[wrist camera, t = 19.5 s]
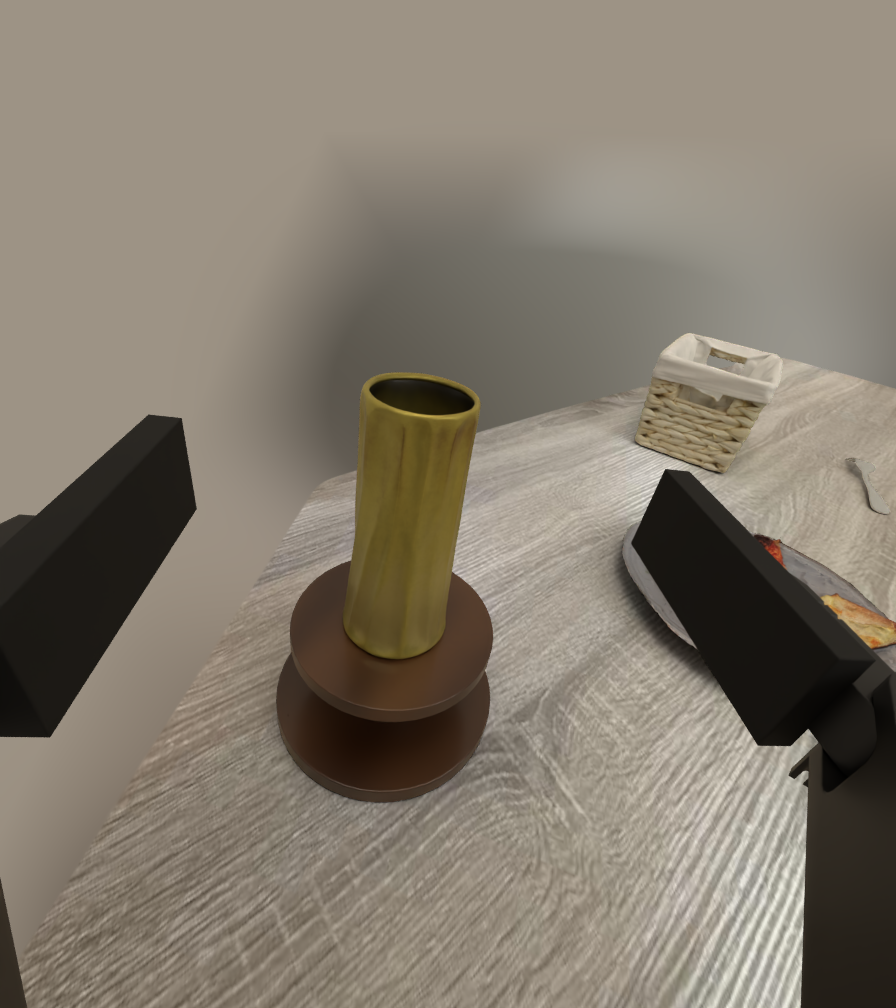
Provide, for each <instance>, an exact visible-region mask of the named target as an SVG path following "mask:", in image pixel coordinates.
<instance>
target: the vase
mask: <svg viewBox="0 0 896 1008" xmlns="http://www.w3.org/2000/svg"><path fill="white" fill-rule="evenodd" d="M479 412H480V400H479V398H478V396H477V395H476V394H475V393H474V392H473V391H472V390H471V389H469V388H467V387H465V386H464V385H461V384H459V383H457V382H454V381H451V380H448V379H445V378H441V377H437V376H432V375H427V374H420V373H399V372H398V373H386V374H381V375H377V376H375V377H372V378H371V379H369V380H368V381H367V382H366V383H365V384H364V386H363V388H362V392H361V398H360V420H359V441H358V442H359V443H358V466H357V483H356V503H355V540H354V547H353V553H352V560H351V566H350V573H349V579H348V587H347V594H346V600H345V607H344V610H343V624H344V628H345V631H346V633H347V635H348V636H349V638H350V639H351V640H352V641H353V642H354V643H355V644H356V645H357V646H359V647H360V648H362V649H363V650H365V651H366V652H368V653H370V654H372V655H375V656H378V657H382V658H387V659H406V658H410V657H414V656H417V655H420V654H422V653H424V652H426V651H428V650H429V649H431V648H432V647H433V646H434V645H435V644H436V643H437V642H438V641H439V640H440V638H441V637H442V635H443V633H444V630H445V625H446V618H445V617H446V607H447V600H448V593H449V587H450V581H451V574H452V567H453V561H454V555H455V547H456V542H457V537H458V531H459V526H460V520H461V513H462V507H463V501H464V494H465V488H466V482H467V476H468V471H469V465H470V460H471V454H472V449H473V444H474V439H475V434H476V429H477V424H478V418H479Z"/></svg>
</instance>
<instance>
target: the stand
mask: <svg viewBox="0 0 896 1008" xmlns="http://www.w3.org/2000/svg"><path fill="white" fill-rule="evenodd" d="M350 566H351V561H348V562H345V563H343V564H340V565H338V566H336V567H334V568H332V569H330V570H328V571H327V572H325V573H324V574H322V575H321V576H319V577H318V578H317V579H316V580H314V581H313V582H312V583H311V584H310V585H309V586H308V587H307V589H306V590H305V591H304V592H303V593H302V595H301V597H300V598H299V600H298V602H297V603H296V606H295V608H294V611H293V614H292V618H291V623H290V643H291V653H290V655H289V657H288V659H287V661H286V662H285V664H284V667H283V669H282V672H281V675H280V678H279V683H278V687H277V699H276V701H277V713H278V724H279V728H280V732H281V736H282V739H283V741H284V743H285V746H286V748H287V750H288V752H289V753H290V755H291V756H292V758H293V759H294V761H295V762H296V763H297V765H298V766H299V767H300V768H301V769H302V770H303V771H304V773H306V774H307V775H308V776H309V777H310V778H312V779H313V780H314V781H315V782H317V783H318V784H320V785H322V786H323V787H325V788H327V789H328V790H330V791H332V792H335V793H337V794H340V795H342V796H344V797H348V798H352V799H356V800H360V801H369V802H394V801H400V800H406V799H410V798H413V797H416V796H420V795H423V794H425V793H427V792H429V791H431V790H433V789H435V788H438V787H439V786H441V785H442V784H444V783H445V782H447V781H448V780H450V779H451V778H452V777H453V776H454V775H455V774H457V773H458V772H459V771H460V770H461V769H462V768H463V767H464V765H465V764H466V763H467V762H468V761H469V759H470V758H471V756H472V755H473V753H474V752H475V750H476V748H477V747H478V744H479V742H480V739H481V737H482V735H483V732H484V729H485V726H486V722H487V718H488V714H489V706H490V689H489V684H488V679H487V675H486V672H485V669H486V667H487V663H488V660H489V657H490V653H491V650H492V643H493V628H492V623H491V619H490V616H489V613H488V611H487V608H486V606H485V605H484V603H483V601H482V600H481V598H480V597H479V596H478V594H477V593H476V592H475V591H474V590H473V588H472V587H471V586H470V585H469V584H467V583H466V582H465V581H464V580H463V579H461V578H460V577H459V576H457V575H456V574H454V573H453V572H452V574H451V581H450V587H449V593H448V600H447V607H446V617H445V618H446V625H445V630H444V633H443V635H442V637H441V638H440V640H439V641H438V642H437V643H436V644H435V645H434V646H433V647H432V648H431V649H429V650H428V651H426V652H424V653H422V654H420V655H417V656H414V657H410V658H406V659H387V658H382V657H378V656H375V655H372V654H370V653H368V652H366V651H365V650H363V649H362V648H360V647H359V646H357V645H356V644H355V643H354V642H353V641H352V640H351V639H350V638H349V636H348V635H347V633H346V631H345V628H344V624H343V610H344V607H345V600H346V594H347V587H348V579H349V573H350Z"/></svg>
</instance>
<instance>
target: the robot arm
mask: <svg viewBox="0 0 896 1008" xmlns="http://www.w3.org/2000/svg"><path fill="white" fill-rule="evenodd" d="M196 509H197V508H196V503H195V496H194V490H193V485H192V478H191V472H190V466H189V460H188V455H187V448H186V442H185V436H184V430H183V423H182V418H175V417H166V416H156V415H148V416H146V418H144V419H143V420H142V421H141V422H140V423H139V424H138V425H136V426H135V427H134V428H133V429H132V430H131V431H130V432H129V433H127V434H126V435H125V436H124V437H123V438H122V439H121V440H120V441H119V442H118V443H116V444H115V445H114V446H113V447H112V448H111V449H110V450H109V451H107V452H106V453H105V454H104V455H103V456H102V457H101V458H100V459H99V460H97V461H96V462H95V463H94V464H93V465H92V466H91V467H90V468H89V469H87V470H86V471H85V472H84V473H83V474H82V475H81V476H80V477H78V478H77V479H76V480H75V481H74V482H73V483H72V484H71V485H70V486H68V487H67V488H66V489H65V490H64V491H63V492H62V493H61V494H60V495H58V496H57V498H55V499H54V500H53V501H52V502H51V503H50V504H48V505H47V506H46V507H45V508H44V509H43V510H42V511H41V512H40V513H38V514H37V515H36V516H32V515H18V516H16V517H13V518H11V519H9V520H7V521H5V522H3V523H1V524H0V737H51V735H52V734H53V732H54V730H55V729H56V727H57V726H58V724H59V723H60V721H61V720H62V718H63V716H64V715H65V713H66V712H67V710H68V708H69V707H70V706H71V704H72V702H73V701H74V699H75V697H76V696H77V694H78V693H79V691H80V690H81V688H82V687H83V685H84V684H85V682H86V681H87V679H88V677H89V676H90V674H91V673H92V671H93V670H94V668H95V666H96V665H97V663H98V662H99V660H100V659H101V657H102V656H103V654H104V652H105V651H106V649H107V648H108V646H109V645H110V643H111V642H112V640H113V638H114V637H115V635H116V634H117V632H118V631H119V629H120V627H121V626H122V624H123V623H124V621H125V620H126V618H127V616H128V615H129V614H130V612H131V610H132V609H133V607H134V606H135V604H136V603H137V601H138V599H139V598H140V596H141V595H142V593H143V592H144V590H145V589H146V587H147V586H148V584H149V582H150V581H151V579H152V578H153V576H154V575H155V573H156V571H157V570H158V568H159V567H160V565H161V564H162V562H163V561H164V559H165V557H166V556H167V554H168V553H169V551H170V550H171V547H172V546H173V545H174V543H175V542H176V540H177V539H178V537H179V536H180V534H181V533H182V531H183V529H184V528H185V526H186V525H187V523H188V522H189V520H190V519H191V517H192V515H193V514H194V512H195V511H196ZM631 544H632V546H633V548H634V549H635V551H636V552H637V554H638V556H639V557H640V559H641V560H642V562H643V564H644V565H645V567H646V568H647V570H648V571H649V573H650V575H651V576H652V578H653V579H654V581H655V583H656V584H657V586H658V587H659V589H660V591H661V592H662V594H663V595H664V597H665V599H666V600H667V602H668V603H669V605H670V606H671V608H672V610H673V611H674V613H675V614H676V616H677V618H678V619H679V621H680V622H681V624H682V626H683V627H684V629H685V630H686V632H687V633H688V635H689V637H690V638H691V640H692V641H693V643H694V645H695V646H696V648H697V649H698V651H699V653H700V654H701V656H702V657H703V659H704V661H705V662H706V664H707V665H708V667H709V668H710V670H711V672H712V673H713V675H714V676H715V678H716V680H717V681H718V683H719V684H720V686H721V688H722V689H723V691H724V692H725V694H726V695H727V697H728V699H729V700H730V702H731V703H732V705H733V707H734V708H735V710H736V711H737V713H738V715H739V716H740V718H741V719H742V721H743V723H744V724H745V726H746V727H747V729H748V730H749V732H750V734H751V735H752V737H753V738H754V740H755V742H756V743H757V745H758V746H791V745H792V744H793V743H794V742H795V741H796V740H797V739H798V738H799V737H800V736H801V735H802V734H803V733H804V732H805V731H806V730H807V729H809V730H810V731H811V733H812V734H813V735H814V737H815V738H816V739H817V741H818V742H819V743H818V744H817V745H816V746H814V747H813V748H812V749H811V750H810V751H809V752H808V753H807V754H806V755H805V756H804V757H803V758H802V759H801V760H800V761H799V762H798V763H797V764H796V765H795V766H793V767H792V768H791V771H790V773H789V776H790V777H792V778H793V779H795V778H796V777H797V776H798V775H799V774H801V773H802V772H803V771H809V778H808V779H807V780H806V781H805V782H804V783H803V785H805V786H807V787H808V808H807V838H806V867H805V897H804V927H803V957H802V987H801V1008H896V672H894V671H893V670H892V669H891V668H890V667H889V666H888V665H887V664H886V663H885V662H884V661H883V660H882V659H881V658H880V657H879V656H878V655H877V654H876V653H875V652H874V651H873V650H872V649H871V648H870V647H869V646H868V645H867V644H866V643H865V642H864V641H863V640H862V639H861V638H860V637H859V636H858V635H857V634H856V633H855V632H854V631H853V630H852V629H851V628H850V627H849V626H848V625H847V624H846V623H845V622H844V621H843V620H842V619H838V615H837V614H836V613H835V612H834V611H833V610H832V609H831V608H830V607H829V606H828V605H824V601H823V600H822V599H821V598H820V597H819V596H818V595H817V594H816V593H815V592H814V591H813V590H812V589H811V588H810V587H809V586H808V585H807V584H805V583H804V582H802V581H801V580H799V579H798V578H797V577H795V576H794V575H792V574H791V573H789V572H788V571H787V570H786V569H785V568H784V567H783V566H782V565H781V564H780V563H779V562H778V561H777V560H776V559H775V558H774V557H773V556H772V555H771V554H770V553H769V552H768V551H767V550H766V549H765V548H764V547H763V546H762V545H761V544H760V543H759V542H758V540H757V539H756V538H755V537H754V536H753V535H752V534H751V533H750V532H749V531H748V530H747V529H746V528H745V527H744V526H743V525H742V524H741V523H740V522H739V521H738V520H737V519H736V518H735V517H734V516H733V515H732V514H731V513H730V512H729V511H728V510H727V509H726V508H725V507H724V506H723V505H722V504H721V503H720V502H719V501H718V500H717V499H716V498H715V497H714V496H713V495H712V494H711V493H710V492H709V491H708V490H707V489H706V488H705V487H704V486H703V485H702V484H701V483H700V482H699V481H698V480H697V479H696V478H695V477H694V476H693V475H692V474H691V473H690V472H688V471H678V470H669V469H665V471H664V473H663V475H662V477H661V479H660V482H659V484H658V486H657V488H656V490H655V492H654V495H653V497H652V499H651V501H650V503H649V505H648V507H647V510H646V512H645V514H644V516H643V518H642V520H641V522H640V525H639V527H638V529H637V531H636V533H635V535H634V537H633V540H632V542H631ZM0 1008H27V1005H26V1000H25V995H24V990H23V985H22V981H21V976H20V971H19V966H18V961H17V957H16V952H15V947H14V942H13V937H12V933H11V928H10V923H9V918H8V914H7V909H6V904H5V899H4V894H3V889H2V884H1V879H0Z"/></svg>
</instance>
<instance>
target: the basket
mask: <svg viewBox="0 0 896 1008" xmlns="http://www.w3.org/2000/svg"><path fill="white" fill-rule="evenodd" d="M709 355H712V356H716V357H718V358H723V359H726V360H730V361H732V362H738V363H742V364H744V367H743V370H742V372H741V373H740V374H739V375H737V374H733V373H730V372H727V371H723V370H720V369H717V368H714V367H711V366H708V365H706V361H707V359H708V357H709ZM782 369H783V361H782V359H781V358H779V356H778V355H776V354H772V353H767V352H763V351H759V350H756V349H752V348H748V347H744V346H740V345H736V344H732V343H728V342H725V341H721V340H717V339H713V338H710V337H704V336H699V335H697V334H692V333H687V334H685V335H683V336H682V337H680V338H678V339H677V340H676V341H674V342H673V343H672V344H671V345H670V346H668V347H667V348H666V349H665V350H663V351H662V352H661V354H660V356H659V359H658V361H657V365H656V367H655V368H654V370H653V374H652V380H651V386H650V388H649V393H648V395H647V400H646V402H645V407H644V408H643V410H642V415H641V417H640V423H639V427H638V430H637V433H636V436H635V441H636V442H637V443H638V444H640V445H642V446H645V447H648V448H652V449H654V450H656V451H659V452H661V453H666V454H668V455H670V456H672V457H675V458H678V459H681V460H684V461H686V462H688V463H692V464H695V465H700V466H702V468H705V469H708V470H713V471H718V472H721V473H724V472H726V470H727V469H728V468H729V466H730V465H731V462H733V460H734V459H735V455H736V453H737V452H738V451H739V450H740V448H741V446H742V442H745V440H746V438H747V437H748V435H749V433H750V430H751V428H752V427H753V425H754V423H755V421H756V420H757V418H758V416H759V413H760V412H761V411H762V409H763V408H764V407H765V406H766V405H767V404H770V402H771V400H772V397H773V394H774V392H775V390H776V389H777V387H778V385H779V383H780V380H781V375H782Z"/></svg>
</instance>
